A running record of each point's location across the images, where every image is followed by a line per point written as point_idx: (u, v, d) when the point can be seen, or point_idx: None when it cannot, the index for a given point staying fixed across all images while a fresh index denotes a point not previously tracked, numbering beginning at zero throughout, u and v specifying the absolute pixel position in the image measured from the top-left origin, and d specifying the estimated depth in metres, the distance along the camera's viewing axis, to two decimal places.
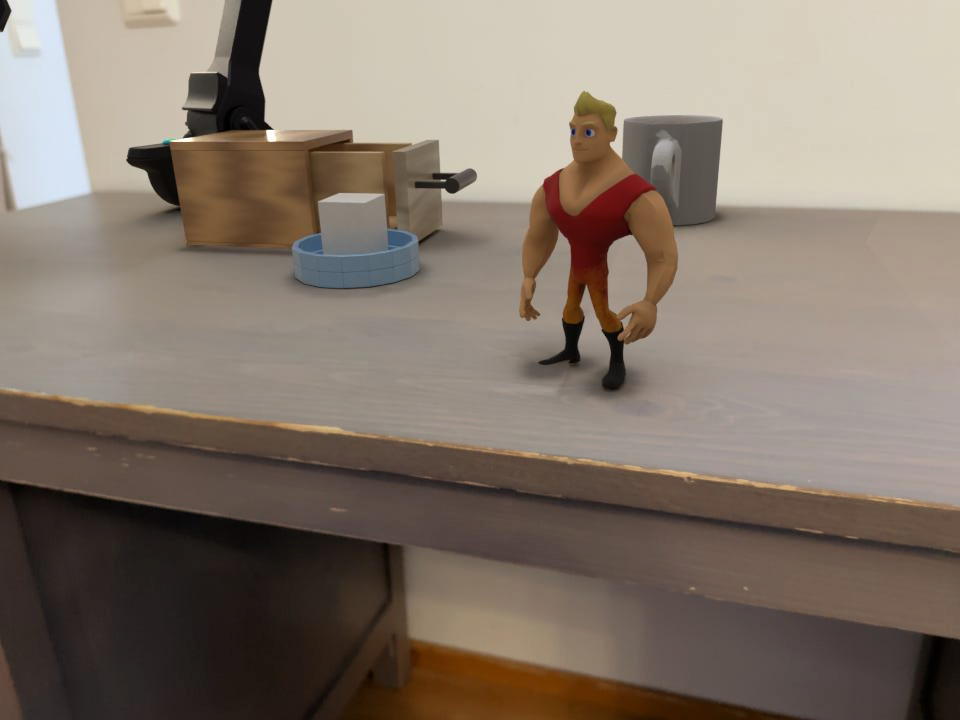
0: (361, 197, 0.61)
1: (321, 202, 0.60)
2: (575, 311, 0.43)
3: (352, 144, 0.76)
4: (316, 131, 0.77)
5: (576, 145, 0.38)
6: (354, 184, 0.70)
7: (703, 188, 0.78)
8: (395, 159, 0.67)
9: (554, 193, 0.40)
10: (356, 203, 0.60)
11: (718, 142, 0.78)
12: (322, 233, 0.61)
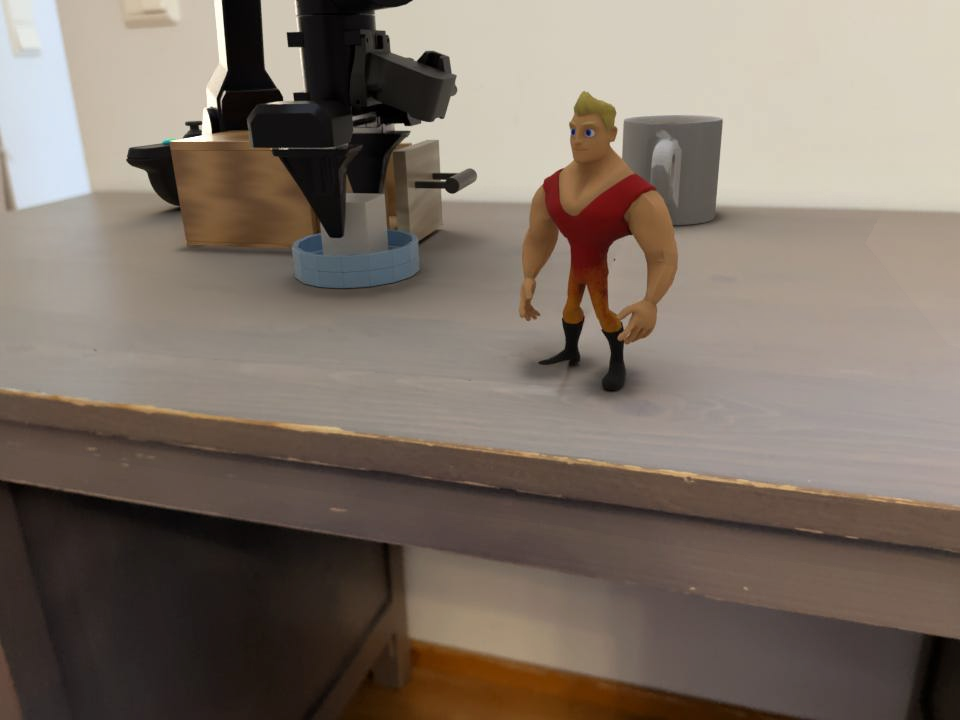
0: (361, 197, 0.61)
1: None
2: (575, 311, 0.43)
3: None
4: None
5: (576, 145, 0.38)
6: None
7: (703, 188, 0.78)
8: (395, 159, 0.67)
9: (554, 193, 0.40)
10: (356, 203, 0.60)
11: (718, 142, 0.78)
12: (322, 233, 0.61)
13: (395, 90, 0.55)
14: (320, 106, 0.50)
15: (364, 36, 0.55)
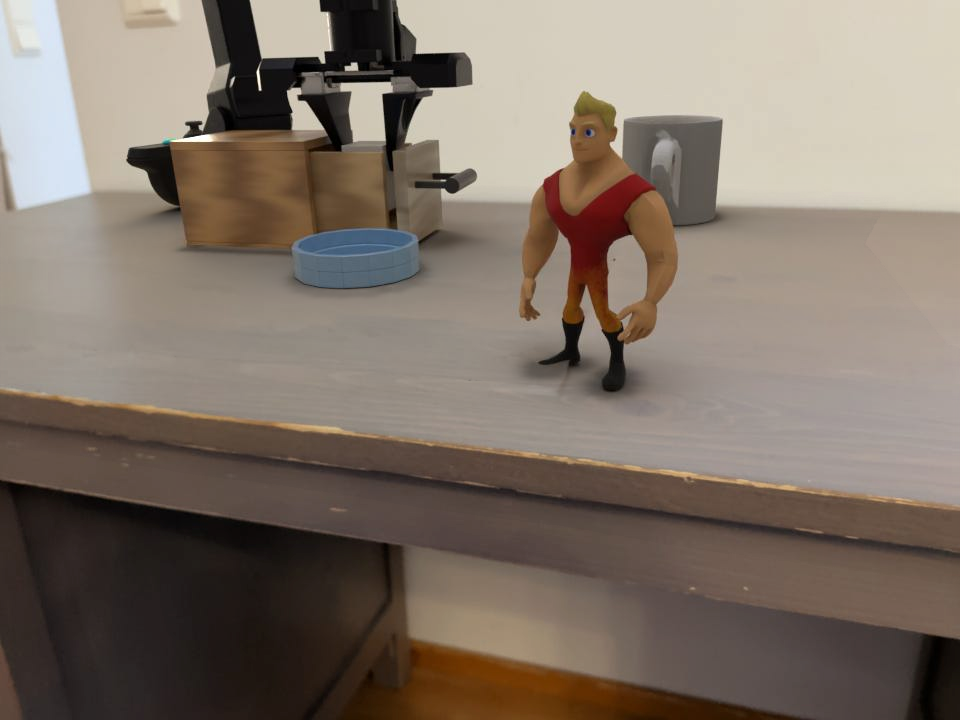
0: (372, 142, 0.73)
1: (383, 146, 0.70)
2: (575, 311, 0.43)
3: None
4: (316, 131, 0.77)
5: (576, 145, 0.38)
6: (354, 184, 0.70)
7: (703, 188, 0.78)
8: (395, 159, 0.67)
9: (554, 193, 0.40)
10: None
11: (718, 142, 0.78)
12: None
13: (408, 48, 0.73)
14: (464, 54, 0.69)
15: (396, 5, 0.70)
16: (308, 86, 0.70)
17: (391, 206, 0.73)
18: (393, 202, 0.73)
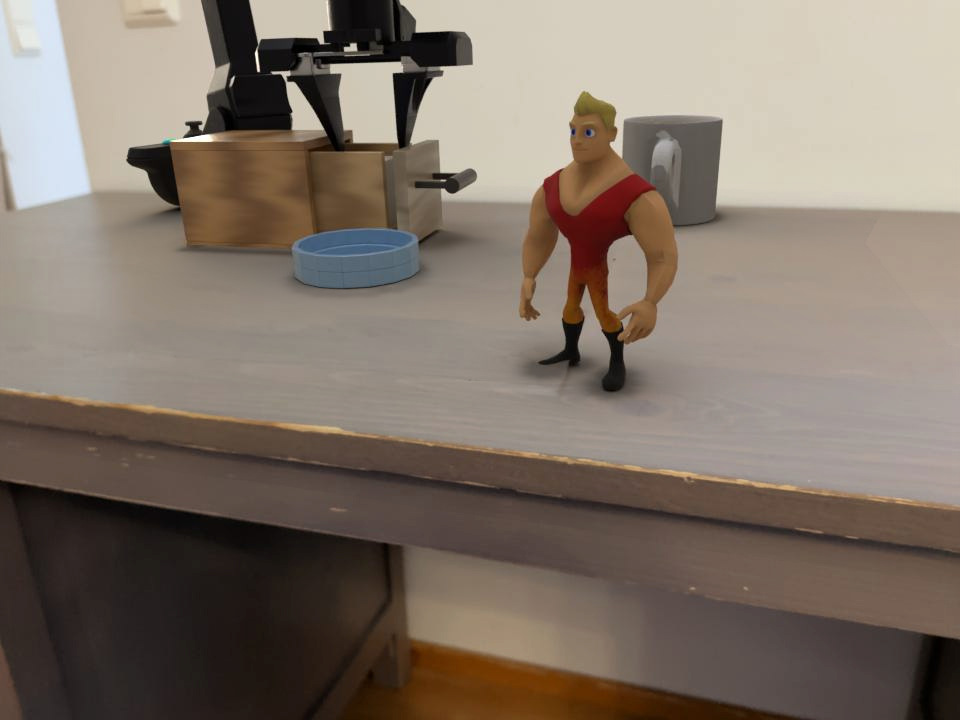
0: None
1: None
2: (575, 311, 0.43)
3: (352, 144, 0.76)
4: (316, 131, 0.77)
5: (576, 145, 0.38)
6: (354, 184, 0.70)
7: (703, 188, 0.78)
8: (395, 159, 0.67)
9: (554, 193, 0.40)
10: None
11: (718, 142, 0.78)
12: None
13: (407, 29, 0.73)
14: (465, 34, 0.69)
15: None
16: (297, 67, 0.69)
17: (392, 221, 0.74)
18: (394, 217, 0.74)
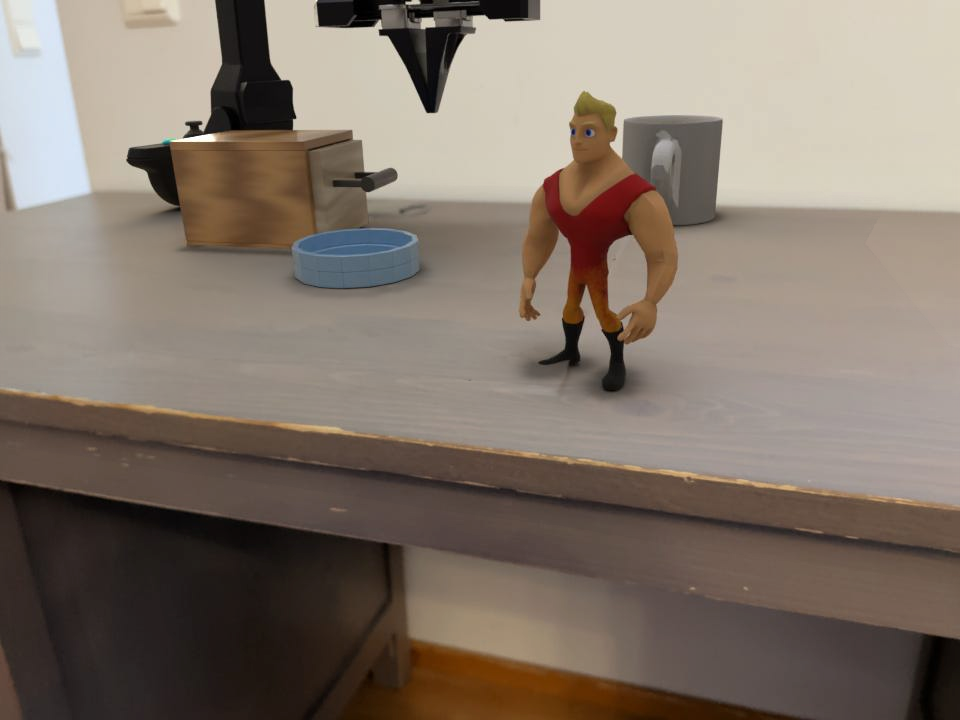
0: None
1: None
2: (575, 311, 0.43)
3: None
4: (316, 131, 0.77)
5: (576, 145, 0.38)
6: None
7: (703, 188, 0.79)
8: (311, 158, 0.69)
9: (554, 193, 0.40)
10: None
11: (718, 142, 0.78)
12: None
13: None
14: None
15: None
16: (390, 20, 0.66)
17: None
18: None
